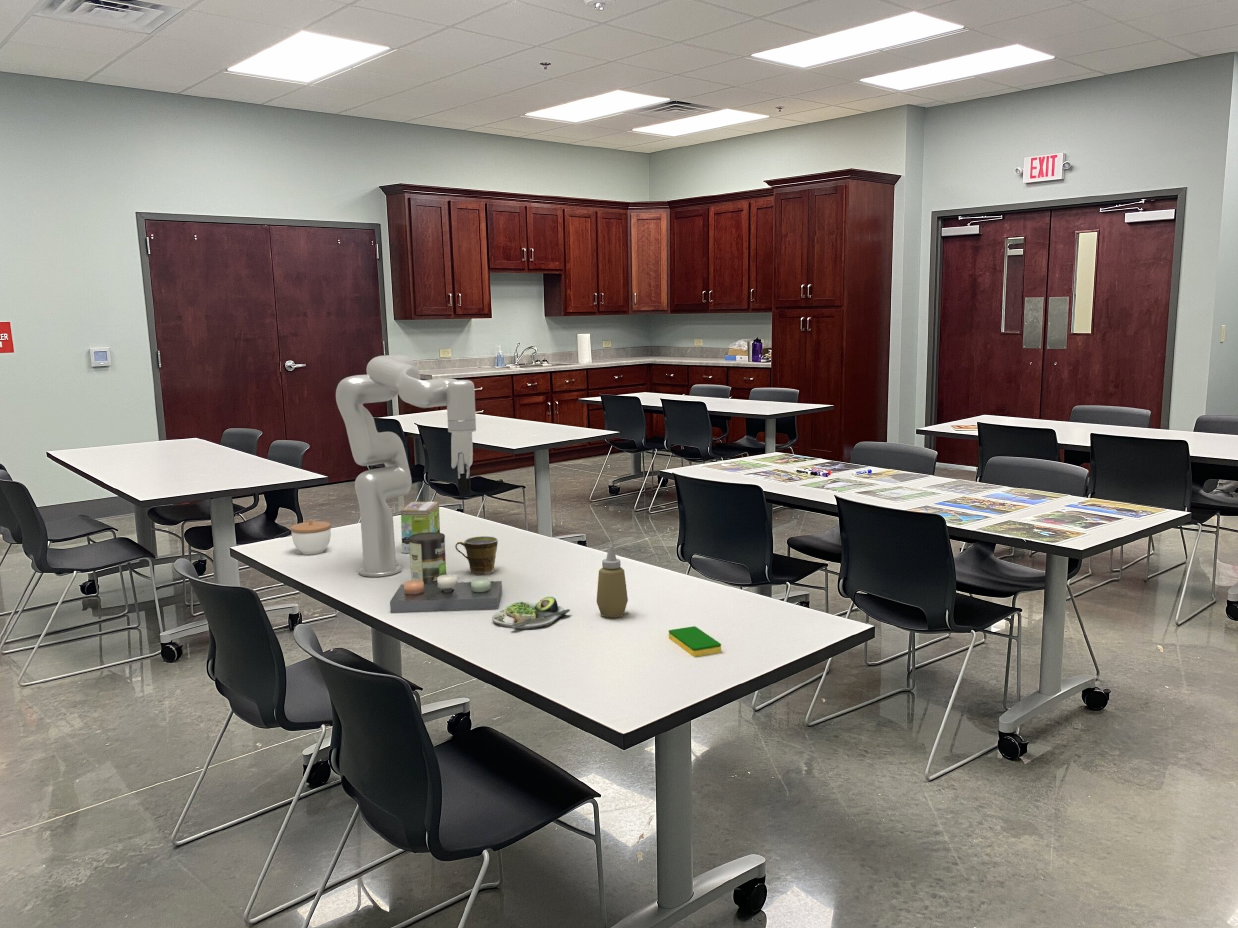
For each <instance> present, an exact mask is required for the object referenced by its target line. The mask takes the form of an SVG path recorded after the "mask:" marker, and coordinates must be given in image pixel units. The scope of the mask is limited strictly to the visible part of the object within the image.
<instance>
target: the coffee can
mask: <svg viewBox="0 0 1238 928" xmlns="http://www.w3.org/2000/svg"><path fill="white" fill-rule="evenodd" d="M445 538H446V535H445V534H444V533H443V532H442V533H441V532H440V533H437V532H426V533H418V534H414V535H411V536H409V544H410V553H409V558H410V575H411V577H410V578H411V581H413V580H419V581H423V582H424V584H429V583H438V582H437V577H439V576H441V575H447V562H446V561H447V560H446V559H447V558H446V539H445Z"/></svg>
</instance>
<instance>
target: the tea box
mask: <svg viewBox="0 0 1238 928" xmlns="http://www.w3.org/2000/svg"><path fill="white" fill-rule="evenodd" d="M400 520H401V521H400V524H401V526H400V527H401V529H400V531H401V532H400V533H401V551H402V553H403V554H410V544H409V536H411V535H414V534H418V533H426V532H437V533H441V528H440V526H441V525H440V524H441V522H440V502H439V501H411V502H409V503H408V504H407V505H406V506H404V507H403V508H401V510H400Z"/></svg>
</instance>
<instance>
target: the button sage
mask: <svg viewBox="0 0 1238 928" xmlns="http://www.w3.org/2000/svg"><path fill="white" fill-rule="evenodd" d="M490 581H491V579H490V578H488V577H487V578H486V577H478V578H477V577H476V578H473V579H471V580H470V582H471V590H472V591H474V592H486V591H489V590H490V589H491V583H490Z"/></svg>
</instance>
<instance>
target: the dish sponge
mask: <svg viewBox="0 0 1238 928" xmlns="http://www.w3.org/2000/svg"><path fill="white" fill-rule="evenodd" d="M668 639H669V640H670V641H671V642H673V643H674V644H675V645H677V646H679V648H681V649H682V650H683V651H685V652H686V653H688V655H690V656H691V657H693V658H696V657H702V656H708V655H714V654H721V653H722V643H720V642H719V641H717V640H716V639H714V638H713V637H711V636H710V635H709V634H707V633H705V632H704V631H703V630H701V629H700V628H698V627H697V626H696V625H695V626H694V625H693V626H687V627H681V628H674V629H669V630H668Z"/></svg>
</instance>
